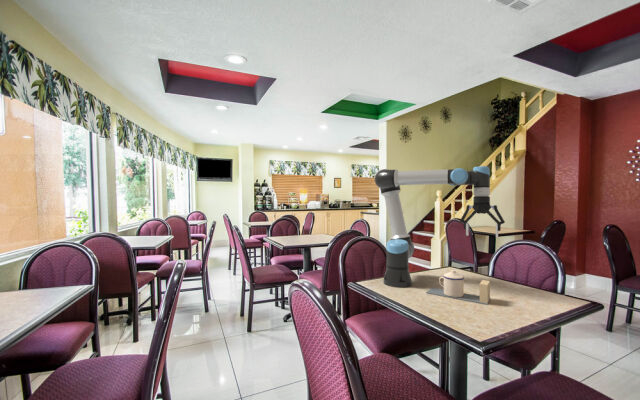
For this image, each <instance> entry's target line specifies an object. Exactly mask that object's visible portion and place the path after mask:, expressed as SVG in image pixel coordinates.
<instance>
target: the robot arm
mask: <svg viewBox="0 0 640 400" xmlns="http://www.w3.org/2000/svg"><path fill="white" fill-rule="evenodd" d="M472 169H473V170H466V169H465V168H461V167H459V168H458V167H456V168H455V169H452V168H449V169H446V168H445V169H425V170H424V169H423V170H420V169H419V170H400V171H399V170H398V169H387V168H384V169H380V170H378V171H377V172H376V173H375V175H374V184H375V185H376V187H378V189H380V194H381V195H382V196H383V197H384V200H385V206H386V211H387V215H388V221H389V222H388V223H389V226H390V231H391V237H390V239H389V240H387V242H386V246H385V249H386V269H385V272H384V276H383V284H384V285H386V286H389V287H395V288H407V287H411V286H413V280H412V277H411V274H410V273H411V272H410V270H409V259H410V258H411V257H412V256H413V254H414V252H415V246H414V244H413V242H412V238H411V235H410V234H409V233H407V227H406V223H405V217H404V213H403V209H402V203H401V199H400V192H401V186H411V185H412V186H414V185H415V186H416V185H417V186H418V185H419V186H420V185H422V186H423V185H449V186H454V187H455V186H473V188H472V189H473V191H472V192H473V205H470V204H467V205H466V209H465V211H464V212H463V215H462V216H461V218H460V220H459V222H460V223H463V229H464V230H465V236H470V235H469V230H470V229H469V228H470V227H469V226H470V225H469V223H468V222H469V221H470V220H471V219H472V218H473V217H474V215H476V214H478V215H479V214H480V215H481V214H483V215H484V214H487V215H488V216H489V217H490V218H491V219H492V220H493V221H494V222H495V223H496V224H495V238H497V239H498V238H499V232H501V230H502V229H501V226H502V225H503V224H505V223H506V221H505V219H504V218H503V216H502V214H501V213H500V211H499V209H498V205H497V204H495V205H491V197H490V195H491V186H490V185H491V172H490V170H491V169H490V167H489V166H485V165H480V166H474V167H473V168H472ZM472 209H473V210H474V211H472V213H470V215H469V216H467V215H468V213H469V211H470V210H472ZM490 209H492V210H493V211H494V213H495V214H496V216H497V217H498V218H497V217H496V216H495V215H494V214H493V213H492V212H491V211H490ZM466 217H467V218H466ZM499 220H500V221H499Z"/></svg>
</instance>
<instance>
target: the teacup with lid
mask: <svg viewBox="0 0 640 400" xmlns="http://www.w3.org/2000/svg"><path fill="white" fill-rule="evenodd" d="M442 279H443V283H442ZM464 279H465V277H464V276H463V274H460V273H458V272H457V271H456V270H455V269H451V270H450V271H448V272H446V273H443V276H440V277H439V278H438V281H439V282H438V283H439V285H440V286H441V287H442V288H443V290H444V294H445V295H447V296H450V297H463V296H464V293H465V291H464V290H465V288H464V285H465V284H464V283H465V282H464V281H465V280H464Z"/></svg>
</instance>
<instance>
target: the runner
mask: <svg viewBox="0 0 640 400" xmlns="http://www.w3.org/2000/svg"><path fill="white" fill-rule="evenodd" d="M425 294H429V295H434V296H440V297H444V298H450V299H455V300H459V301H463V302H470V303H474V304H481V305H488V304H489V303H490V300H491V280H485V279H482V280H480V282H479V295H475V294H470V293H465V292H464V296H463V297H450V296H447V295H445V294H444V288H437V287H431V288H429V289H428V290H427V291H426V292H425Z"/></svg>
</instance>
